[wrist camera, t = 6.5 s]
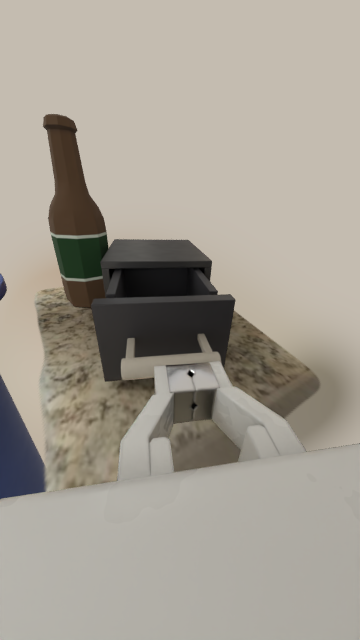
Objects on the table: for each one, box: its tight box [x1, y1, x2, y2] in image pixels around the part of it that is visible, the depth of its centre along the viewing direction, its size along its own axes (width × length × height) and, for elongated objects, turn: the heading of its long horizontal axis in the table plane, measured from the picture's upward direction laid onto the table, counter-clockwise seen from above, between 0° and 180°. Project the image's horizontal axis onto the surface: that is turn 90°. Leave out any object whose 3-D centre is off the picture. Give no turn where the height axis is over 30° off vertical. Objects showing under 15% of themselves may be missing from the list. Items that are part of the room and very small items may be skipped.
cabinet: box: [101, 239, 212, 297], centre depth 33 cm, size 15×13×10 cm
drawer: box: [91, 268, 235, 382], centre depth 23 cm, size 18×11×8 cm, turn 9°
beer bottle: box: [43, 114, 108, 308], centre depth 32 cm, size 8×8×24 cm
